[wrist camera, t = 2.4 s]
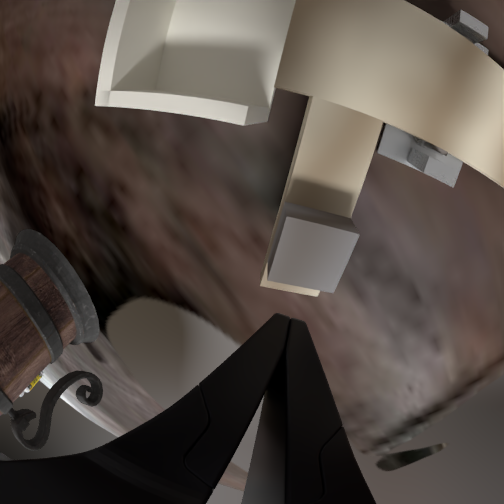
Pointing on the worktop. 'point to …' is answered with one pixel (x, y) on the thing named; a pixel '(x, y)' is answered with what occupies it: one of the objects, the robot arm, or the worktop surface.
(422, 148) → the fulcrum
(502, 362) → the worktop surface
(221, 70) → the tray
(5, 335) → the tankard
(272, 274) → the lever
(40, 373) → the supplement bottle
